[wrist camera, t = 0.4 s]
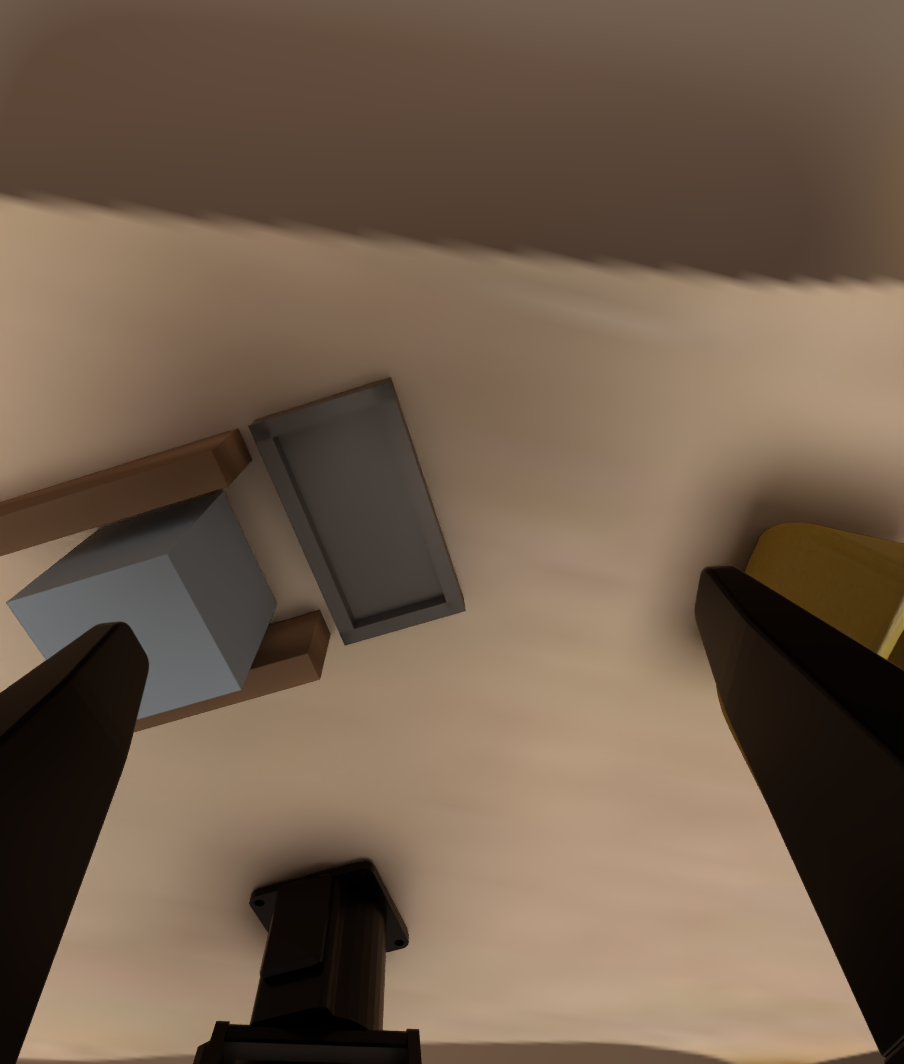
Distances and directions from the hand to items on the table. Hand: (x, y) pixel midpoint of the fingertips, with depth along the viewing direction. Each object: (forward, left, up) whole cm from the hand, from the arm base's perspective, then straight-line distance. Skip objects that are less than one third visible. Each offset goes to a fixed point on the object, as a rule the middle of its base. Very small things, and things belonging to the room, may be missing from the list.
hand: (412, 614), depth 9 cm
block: (-3, +10, -13) cm, 17 cm away
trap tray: (-3, +3, -13) cm, 14 cm away
